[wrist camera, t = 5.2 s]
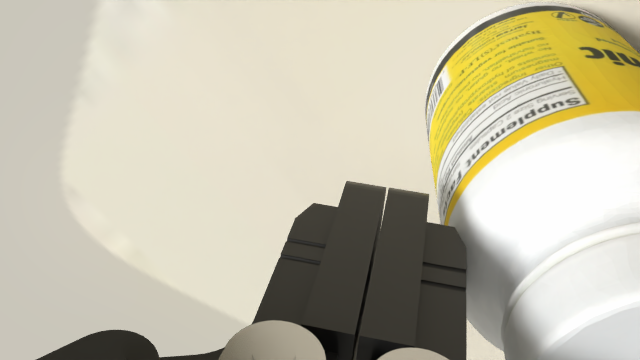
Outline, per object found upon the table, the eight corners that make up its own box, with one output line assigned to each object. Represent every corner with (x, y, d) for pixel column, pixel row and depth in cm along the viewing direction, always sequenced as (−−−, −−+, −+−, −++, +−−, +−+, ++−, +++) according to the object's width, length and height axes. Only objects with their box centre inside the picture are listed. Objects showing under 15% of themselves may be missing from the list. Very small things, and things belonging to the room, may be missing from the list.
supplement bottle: (665, 108, 16) (956, 438, 8) (490, 206, 18) (577, 540, 10) (566, -53, 14) (820, 165, 6) (384, 78, 16) (384, 368, 8)
